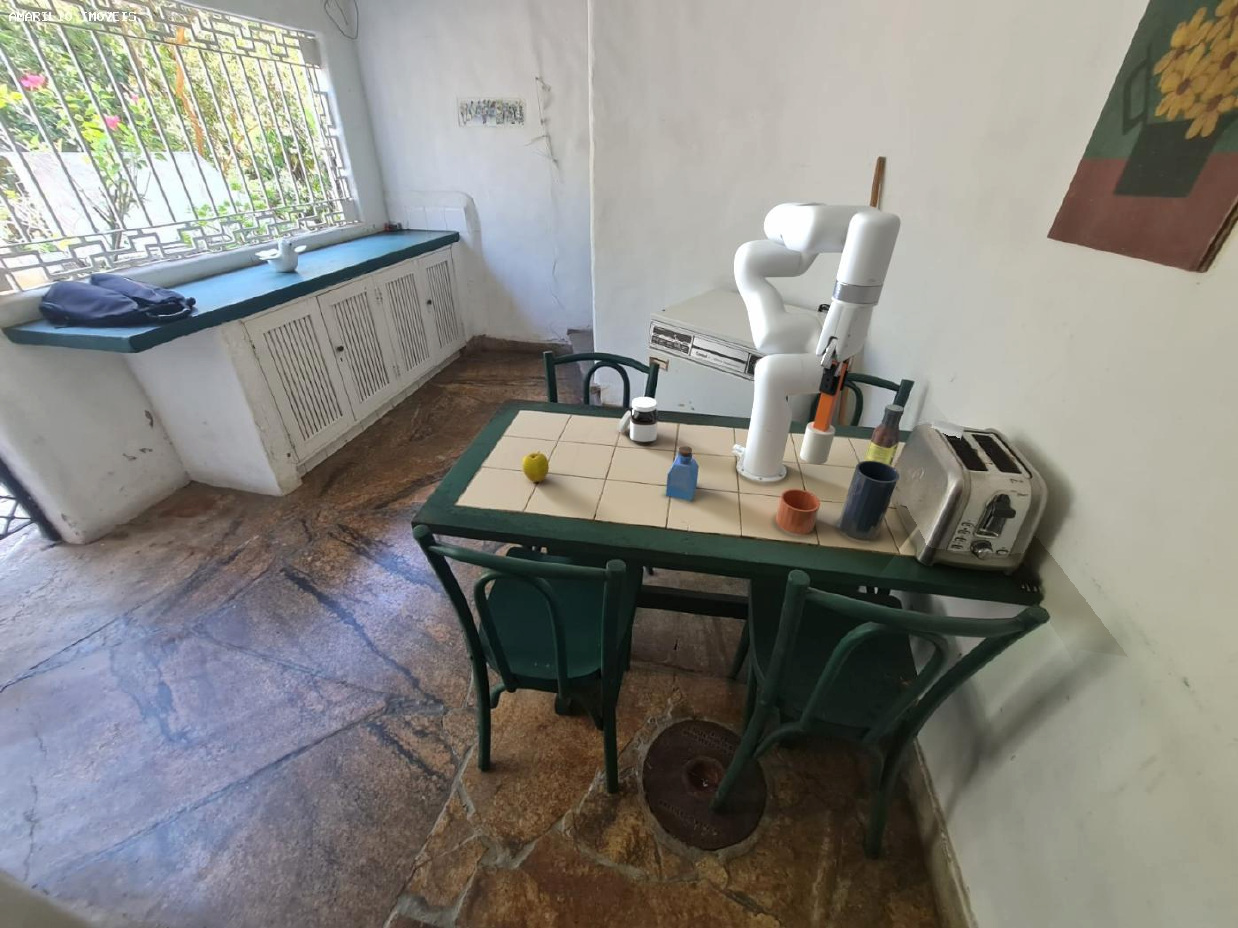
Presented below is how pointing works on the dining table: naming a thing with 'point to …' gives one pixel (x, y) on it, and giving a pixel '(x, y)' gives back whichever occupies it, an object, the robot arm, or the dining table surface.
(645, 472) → the dining table surface
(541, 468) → the apple
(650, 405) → the spread jar
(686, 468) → the perfume bottle
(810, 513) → the brush holder
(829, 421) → the brush
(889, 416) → the sauce bottle
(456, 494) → the dining table surface
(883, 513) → the dark blue cylindrical vase
